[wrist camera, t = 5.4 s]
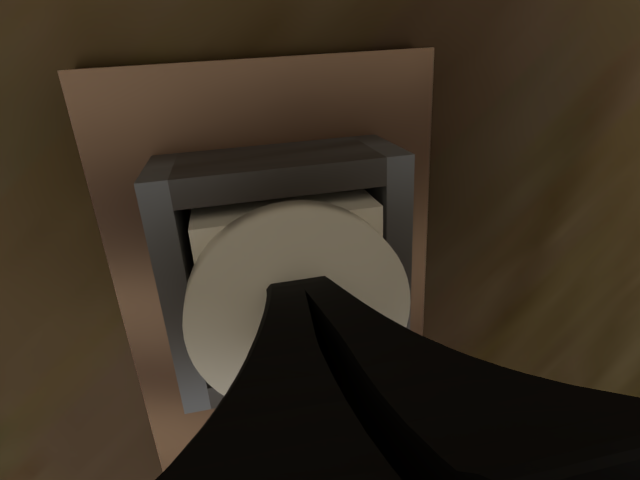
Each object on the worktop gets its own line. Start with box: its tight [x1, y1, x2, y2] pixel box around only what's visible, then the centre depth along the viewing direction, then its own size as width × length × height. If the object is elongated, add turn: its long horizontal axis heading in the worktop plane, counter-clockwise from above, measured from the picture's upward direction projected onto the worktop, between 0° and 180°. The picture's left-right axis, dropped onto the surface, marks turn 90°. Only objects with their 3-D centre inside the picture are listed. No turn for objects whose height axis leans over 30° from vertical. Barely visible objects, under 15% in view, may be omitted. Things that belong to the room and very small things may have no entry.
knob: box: [182, 189, 410, 395], centre depth 12 cm, size 5×5×4 cm
